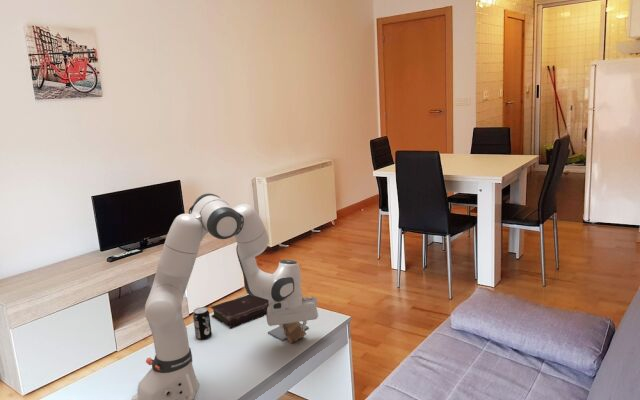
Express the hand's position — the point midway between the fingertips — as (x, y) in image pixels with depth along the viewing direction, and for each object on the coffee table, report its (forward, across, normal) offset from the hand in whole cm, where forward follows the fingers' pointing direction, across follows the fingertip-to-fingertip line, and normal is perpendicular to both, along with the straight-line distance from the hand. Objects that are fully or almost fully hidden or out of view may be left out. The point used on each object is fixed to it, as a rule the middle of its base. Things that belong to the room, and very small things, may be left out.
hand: (293, 331), depth 203 cm
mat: (+5, +1, -10) cm, 11 cm away
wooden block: (+4, -2, 0) cm, 4 cm away
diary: (+6, +17, -34) cm, 39 cm away
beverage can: (+5, +35, -17) cm, 40 cm away
